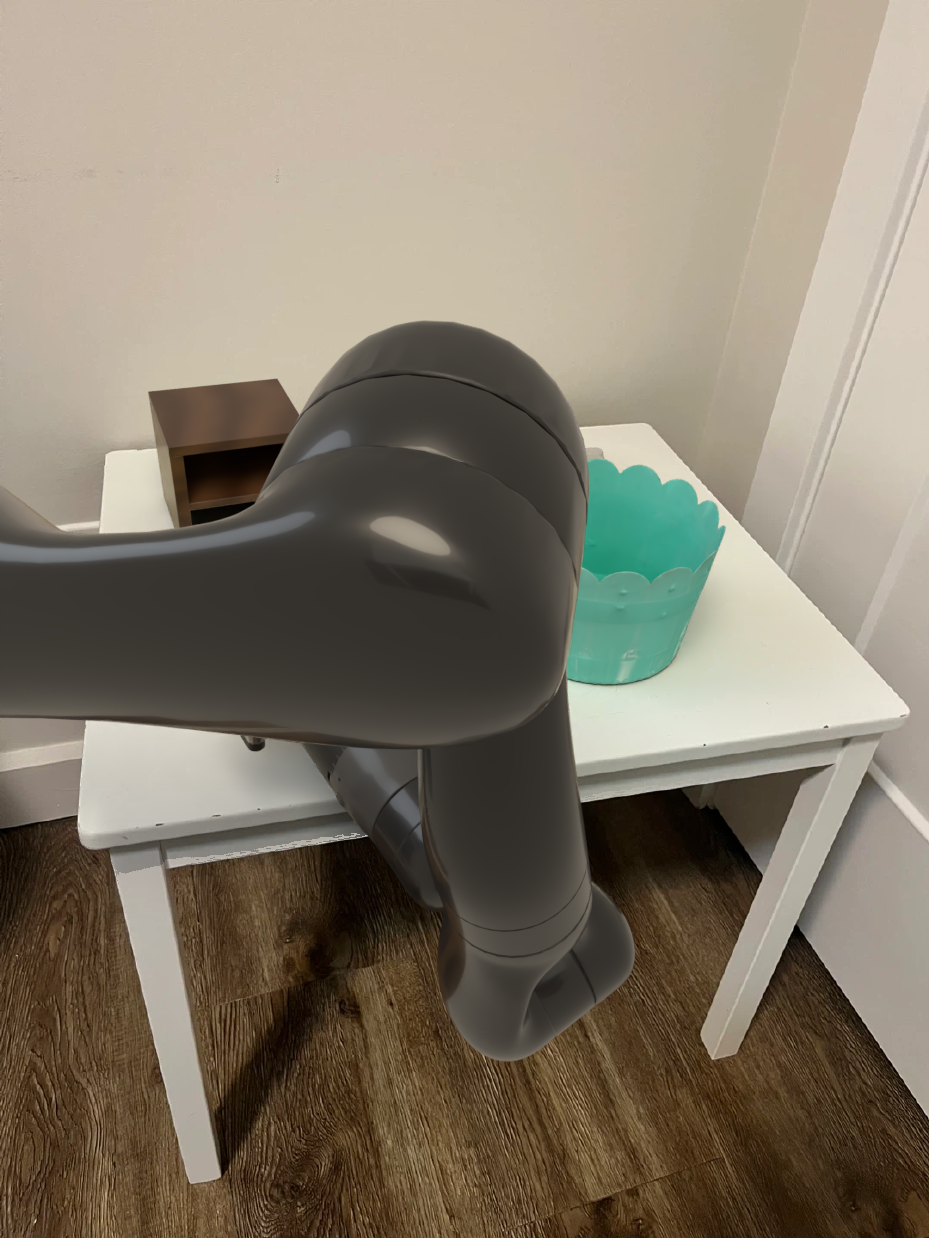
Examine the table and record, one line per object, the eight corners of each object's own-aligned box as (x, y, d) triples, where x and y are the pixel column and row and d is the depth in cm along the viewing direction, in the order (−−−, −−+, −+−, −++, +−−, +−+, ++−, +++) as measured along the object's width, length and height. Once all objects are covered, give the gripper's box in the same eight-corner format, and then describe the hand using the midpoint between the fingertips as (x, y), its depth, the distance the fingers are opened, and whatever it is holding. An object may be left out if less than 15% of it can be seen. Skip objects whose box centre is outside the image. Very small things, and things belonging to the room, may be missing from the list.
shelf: (183, 557, 90) (168, 447, 82) (163, 495, 98) (147, 391, 90) (312, 535, 94) (309, 430, 87) (282, 479, 102) (277, 378, 95)
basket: (510, 698, 77) (528, 575, 69) (473, 572, 91) (484, 457, 83) (720, 685, 81) (761, 566, 73) (653, 565, 95) (681, 455, 87)
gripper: (481, 685, 60) (363, 558, 71) (281, 764, 54) (182, 611, 64) (472, 762, 65) (362, 632, 75) (287, 843, 58) (194, 689, 69)
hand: (280, 623), depth 70 cm, fingers open, 7 cm apart
